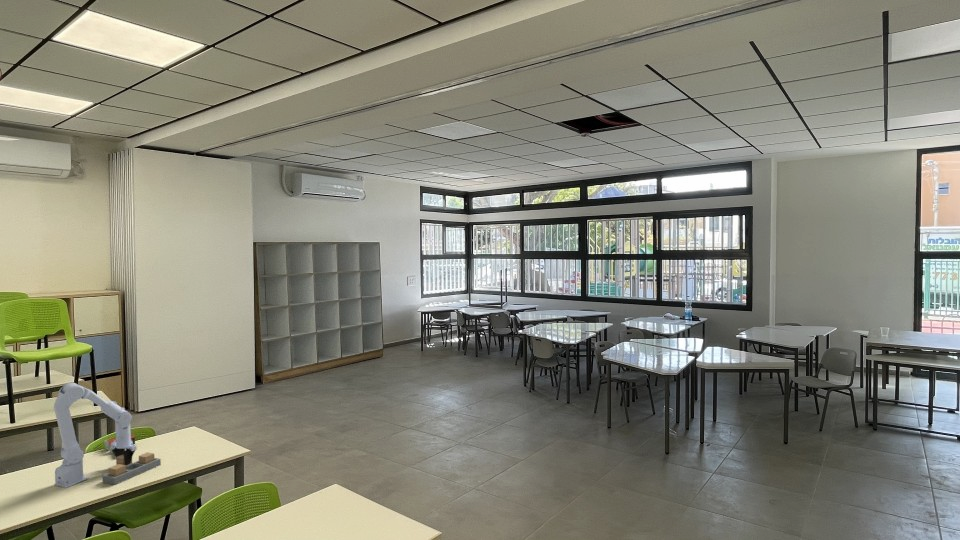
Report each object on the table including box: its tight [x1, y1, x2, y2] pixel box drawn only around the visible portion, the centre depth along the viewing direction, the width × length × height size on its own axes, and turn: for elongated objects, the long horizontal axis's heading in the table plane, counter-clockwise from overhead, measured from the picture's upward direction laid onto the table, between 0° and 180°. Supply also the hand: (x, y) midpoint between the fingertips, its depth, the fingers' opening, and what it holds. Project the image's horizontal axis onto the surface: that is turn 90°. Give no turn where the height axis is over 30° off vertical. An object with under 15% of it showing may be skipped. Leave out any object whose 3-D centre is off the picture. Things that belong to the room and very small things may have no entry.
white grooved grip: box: [104, 433, 136, 459], centre depth 266 cm, size 18×5×20 cm
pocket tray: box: [102, 452, 162, 486], centre depth 240 cm, size 22×8×6 cm, turn 160°
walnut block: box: [115, 455, 133, 466], centre depth 247 cm, size 4×4×5 cm
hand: (124, 463), depth 247 cm, fingers closed on walnut block, 4 cm apart
